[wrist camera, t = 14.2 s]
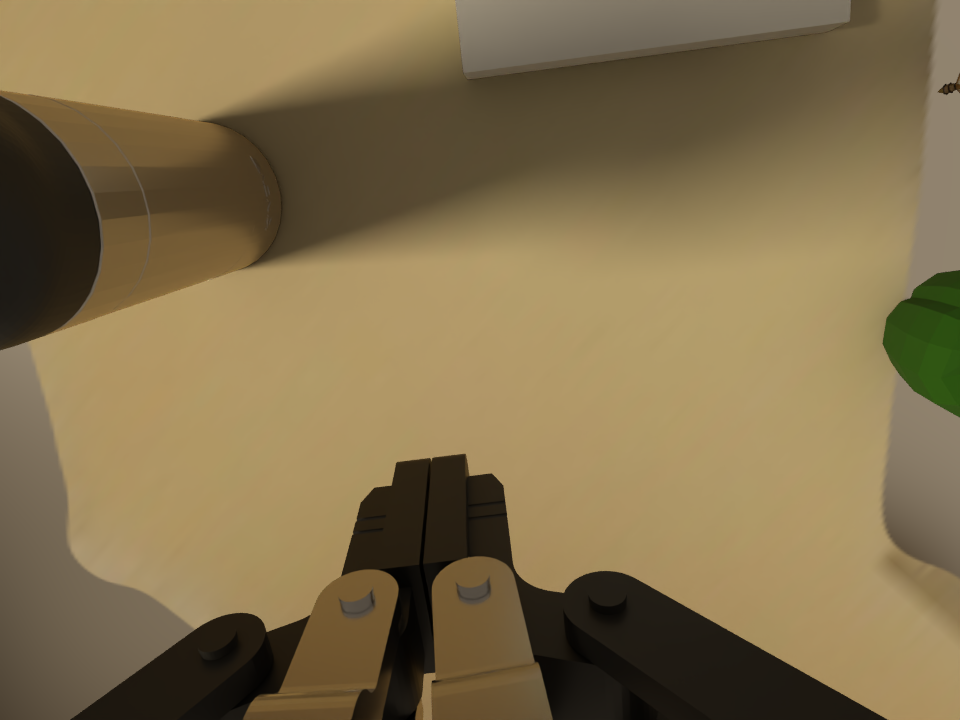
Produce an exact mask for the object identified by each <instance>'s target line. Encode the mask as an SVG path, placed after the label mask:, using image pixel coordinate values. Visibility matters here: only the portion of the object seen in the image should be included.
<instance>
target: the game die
mask: <svg viewBox="0 0 960 720" xmlns="http://www.w3.org/2000/svg"><path fill="white" fill-rule="evenodd" d="M954 90H958V92H959V93H960V74H959V77H958V79H957V82H956V83H955V84H952V83H950V84H948V85H946V84H945V85H944V86H943V88H941V89H940V90H939V91H938V92H939V93H944V94H946V95H947V94H948V93H953V91H954Z"/></svg>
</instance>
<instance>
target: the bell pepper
mask: <svg viewBox="0 0 960 720" xmlns="http://www.w3.org/2000/svg"><path fill="white" fill-rule="evenodd" d="M883 346H884V348H885V350H886V352H887V354H888V356H889V359H890V361H891V363H892V364H893V366H894V367H895V368H896V370H897V371H898V373H899V374H900V376H901V377H902V378H903V379H904V380H905V381H906V382H907V383H908V384H909V386H910V387H911V388H912V389H913V390H914V391H915V392H917V393H918V394H920V395H922V396H923V397H925V398H927V399H928V400H930V401H932V402H933V403H935V404H937V405H939V406H940V407H942V408H944V409H946V410H948V411H949V412H951V413H953V414H954V415H956V416H958V417H960V270H959V271H951V272H943V273H937V274H936V275H934V276H933V277H931V278H930V279H928V280H927V281H925V282H924V283H922V284H921V285H919V286H918V287H916V288H915V289H914V291H913V293H912V296H911V298H910V299H907V300H904V301H901V302H900V303H899V304H898V305H897V306H896V308H895V309H894V310H893V311H892V312H891V313H890V315H889V316H888V317H887V319H886V326H885V332H884V338H883Z"/></svg>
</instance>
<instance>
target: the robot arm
mask: <svg viewBox="0 0 960 720" xmlns="http://www.w3.org/2000/svg"><path fill="white" fill-rule="evenodd" d="M281 209H282V207H281V196H280V190H279V187H278V183H277V180H276V177H275V174H274V172H273V171H272V169H271V167H270V165H269V163H268V161H267V160H266V158H265V157H264V156H263V155H262V153H261V152H260V151H259V149H258V148H257V147H256V146H255V145H253V144H252V143H251V142H250V141H249V140H248V139H247V138H245V137H244V136H242V135H241V134H239V133H237V132H235V131H234V130H232V129H230V128H227V127H224V126H221V125H218V124H214V123H208V122H201V121H195V120H188V119H183V118H177V117H171V116H165V115H158V114H152V113H145V112H139V111H132V110H126V109H120V108H113V107H107V106H100V105H94V104H87V103H81V102H75V101H68V100H62V99H55V98H49V97H42V96H36V95H27V94H20V93H14V92H7V91H1V90H0V350H3V349H6V348H10V347H13V346H16V345H19V344H22V343H25V342H28V341H31V340H34V339H37V338H40V337H42V336H46V335H49V334H52V333H54V332H57V331H60V330H63V329H66V328H69V327H72V326H75V325H78V324H81V323H84V322H87V321H90V320H93V319H95V318H98V317H100V316H103V315H106V314H109V313H112V312H115V311H118V310H121V309H124V308H127V307H130V306H133V305H136V304H139V303H142V302H145V301H148V300H151V299H154V298H157V297H159V296H162V295H165V294H168V293H171V292H174V291H177V290H180V289H183V288H186V287H189V286H192V285H195V284H198V283H201V282H204V281H207V280H210V279H213V278H216V277H219V276H222V275H225V274H228V273H230V272H233V271H236V270H239V269H242V268H245V267H247V266H249V265H250V264H252V263H253V262H255V261H257V260H258V259H259V258H260V257H261V256H262V255H263V254H264V253H265V252H266V251H267V250H268V249H269V247H270V245H271V244H272V242H273V240H274V239H275V237H276V234H277V231H278V228H279V225H280V218H281ZM426 673H435V674H436V680H434V681H432V684H431V700H432V720H887V719H885V718H884V717H882V716H880V715H878V714H877V713H875V712H873V711H871V710H869V709H868V708H866V707H864V706H862V705H860V704H859V703H857V702H855V701H853V700H852V699H850V698H848V697H846V696H844V695H843V694H841V693H839V692H837V691H835V690H834V689H832V688H830V687H828V686H827V685H825V684H823V683H821V682H819V681H818V680H816V679H814V678H812V677H810V676H809V675H807V674H805V673H803V672H802V671H800V670H798V669H796V668H794V667H793V666H791V665H789V664H787V663H785V662H784V661H782V660H780V659H778V658H777V657H775V656H773V655H771V654H769V653H768V652H766V651H764V650H762V649H760V648H759V647H757V646H755V645H753V644H752V643H750V642H748V641H746V640H744V639H743V638H741V637H739V636H737V635H735V634H734V633H732V632H730V631H728V630H727V629H725V628H723V627H721V626H719V625H718V624H716V623H714V622H712V621H710V620H709V619H707V618H705V617H703V616H701V615H700V614H698V613H696V612H694V611H693V610H691V609H689V608H687V607H685V606H684V605H682V604H680V603H678V602H676V601H675V600H673V599H671V598H669V597H668V596H666V595H664V594H662V593H660V592H659V591H657V590H655V589H653V588H651V587H650V586H648V585H646V584H644V583H643V582H641V581H639V580H637V579H635V578H633V577H631V576H629V575H626V574H623V573H619V572H612V571H599V572H592V573H589V574H585V575H583V576H581V577H579V578H577V579H576V580H574V581H573V582H572V583H571V584H570V585H569V586H568V587H567V589H566V590H565V592H564V593H560V592H553V591H547V590H543V589H539V588H536V587H534V586H532V585H530V584H528V583H527V582H525V581H524V580H523V579H522V578H521V577H520V576H519V575H518V574H517V573H516V571H515V569H514V566H513V561H512V553H511V544H510V536H509V528H508V520H507V512H506V504H505V496H504V488H503V485H502V484H501V483H500V482H499V480H498V479H497V478H496V477H495V476H494V475H493V474H483V475H475V476H469V470H468V464H467V458H466V454H459V455H451V456H443V457H434V458H432V461H431V459H430V458H427V459H419V460H411V461H402V462H397V463H396V467H395V472H394V477H393V482H392V486H385V487H377V488H374V489H373V490H372V491H371V492H370V493H369V494H368V495H367V497H366V498H365V499H364V500H363V501H362V502H361V504H360V508H359V512H358V516H357V522H356V523H355V527H354V530H353V535H352V538H351V542H350V545H349V549H348V553H347V556H346V560H345V564H344V568H343V571H342V575H341V577H339V578H338V579H336V580H334V581H333V582H331V583H330V584H329V585H328V586H327V587H326V588H325V589H324V590H323V591H322V592H321V593H320V595H319V596H318V598H317V600H316V603H315V605H314V608H313V610H312V613H311V615H309V616H307V617H306V618H304V619H301V620H299V621H296V622H294V623H291V624H288V625H285V626H283V627H280V628H277V629H274V630H271V631H269V632H266V629H265V626H264V623H263V622H262V620H261V619H260V618H258V617H257V616H255V615H252V614H248V613H233V614H228V615H224V616H221V617H218V618H216V619H213V620H211V621H209V622H207V623H205V624H203V625H202V626H200V627H199V628H197V629H196V630H194V631H193V632H191V633H190V634H189V635H187V636H186V637H185V638H183V639H182V640H180V641H179V642H178V643H176V644H175V645H173V646H172V647H171V648H169V649H168V650H166V651H165V652H164V653H163V654H161V655H160V656H158V657H157V658H155V659H154V660H153V661H151V662H150V663H148V664H147V665H146V666H144V667H143V668H142V669H140V670H139V671H137V672H136V673H135V674H133V675H132V676H130V677H129V678H128V679H126V680H125V681H123V682H122V683H121V684H119V685H118V686H117V687H115V688H114V689H112V690H111V691H110V692H108V693H107V694H106V695H104V696H103V697H101V698H100V699H98V700H97V701H96V702H94V703H93V704H92V705H90V706H89V707H88V708H86V709H85V710H83V711H82V712H80V713H79V714H78V715H76V716H75V717H74V718H72V719H71V720H423V713H424V711H423V705H422V700H421V697H422V691H423V676H424V674H426Z"/></svg>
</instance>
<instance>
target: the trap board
mask: <svg viewBox="0 0 960 720" xmlns="http://www.w3.org/2000/svg"><path fill="white" fill-rule="evenodd" d="M455 1H456V11H457V20H458V29H459V38H460V47H461V57H462V66H463V73H464V75H465V77H466V78H467V80H469V79H476V78H484V77H492V76H499V75H507V74H514V73H522V72H529V71H537V70H545V69H552V68H560V67H567V66H575V65H582V64H590V63H597V62H605V61H613V60H620V59H628V58H635V57H643V56H650V55H658V54H666V53H673V52H681V51H688V50H696V49H703V48H711V47H718V46H726V45H734V44H741V43H749V42H756V41H764V40H771V39H779V38H787V37H794V36H802V35H809V34H817V33H824V32H828V31H831V30H833V29H835V28H837V27H839V26H841V25H843V24H846V23H848V22H850V8H851V0H455Z"/></svg>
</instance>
